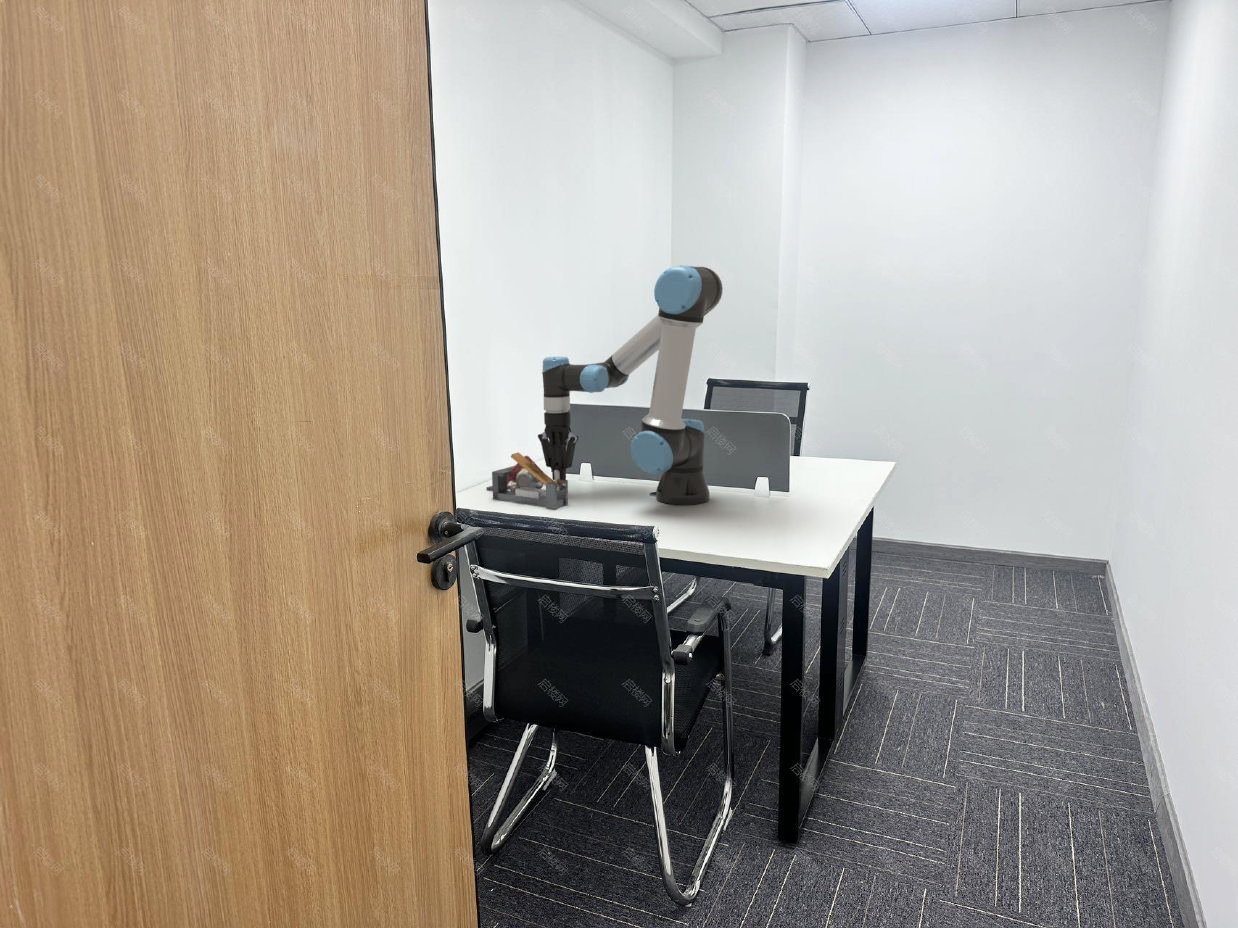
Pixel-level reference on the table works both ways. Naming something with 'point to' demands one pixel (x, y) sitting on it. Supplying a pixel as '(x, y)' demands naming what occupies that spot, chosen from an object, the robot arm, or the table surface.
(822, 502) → the table surface
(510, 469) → the bracket
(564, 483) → the clip base
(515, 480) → the brake caliper
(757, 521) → the table surface
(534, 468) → the tan wooden flat bar
